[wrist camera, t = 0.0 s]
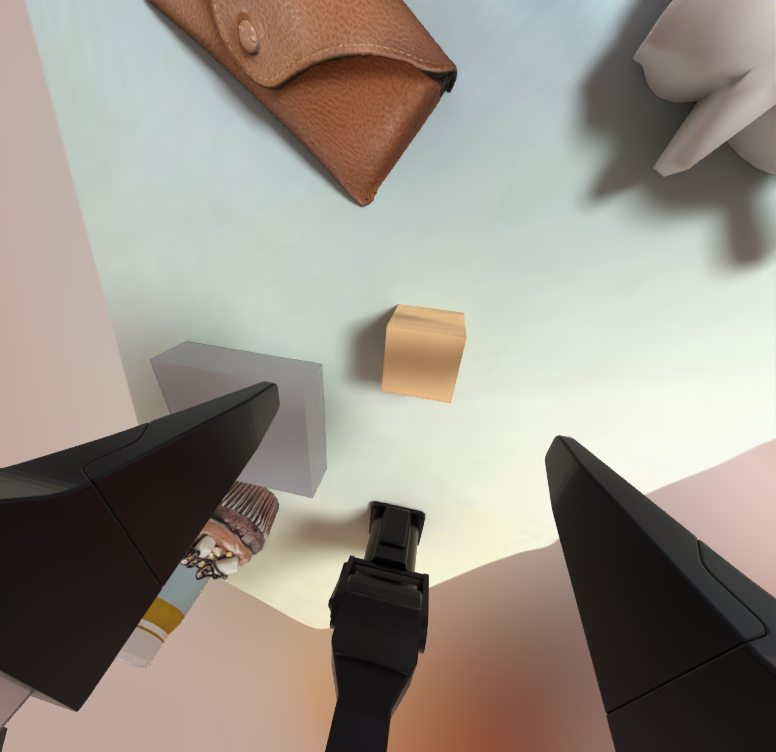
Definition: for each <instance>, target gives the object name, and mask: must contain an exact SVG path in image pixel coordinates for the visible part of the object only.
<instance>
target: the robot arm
mask: <svg viewBox="0 0 776 752" xmlns="http://www.w3.org/2000/svg"><path fill="white" fill-rule="evenodd" d="M279 407H280V399H279V391H278V386H277V384H276V383H273V382H268V381H263V382H260V383H257V384H254V385H252V386H249V387H246V388H243V389H240V390H238V391H235V392H232V393H229V394H226V395H224V396H221V397H218V398H215V399H212V400H210V401H207V402H204V403H201V404H198V405H196V406H193V407H190V408H187V409H184V410H182V411H179V412H176V413H173V414H170V415H167V416H165V417H162V418H159V419H156V420H153V421H151V422H150V423H145V424H142V425H139V426H136V427H134V428H131V429H128V430H125V431H122V432H119V433H116V434H114V435H111V436H107V437H104V438H101V439H98V440H95V441H92V442H88V443H85V444H82V445H79V446H75V447H72V448H69V449H65V450H62V451H59V452H56V453H52V454H49V455H46V456H43V457H39V458H36V459H33V460H30V461H26V462H23V463H20V464H16V465H12V466H9V467H5V468H0V752H1V751H2V747H3V743H4V740H5V735H6V731H7V728H5V727H4V726H5V724H6V723H7V722H8V721H9V720H10V719H11V718H12V716H13V715H14V714H15V713H16V711H18V709H19V708H20V707H21V706H22V705H23V704H24V702H25V701H26V700H27V699H28V698H29V697H30V696H32V697H35V698H38V699H41V700H44V701H46V702H49V703H52V704H55V705H58V706H61V707H63V708H66V709H69V710H72V711H75V712H77V711H79V709H80V708H81V707H82V705H83V704H84V703H85V701H86V700H87V699H88V697H89V696H90V694H91V693H92V692H93V690H94V689H95V687H96V685H97V684H98V683H99V681H100V680H101V678H102V677H103V675H104V674H105V672H106V671H107V670H108V668H109V667H110V665H111V664H112V662H113V661H114V659H115V658H116V656H117V655H118V653H119V652H120V650H121V649H122V647H123V646H124V645H125V643H126V642H127V640H128V639H129V637H130V636H131V634H132V633H133V631H134V630H135V628H136V627H137V625H138V624H139V623H140V621H141V620H142V618H143V617H144V615H145V614H146V612H147V611H148V609H149V608H150V606H151V605H152V603H153V602H154V600H155V599H156V598H157V596H158V595H159V593H160V592H161V590H162V587H163V586H164V585H165V584H166V582H167V581H168V580H169V578H170V577H171V575H172V574H173V572H174V571H175V569H176V568H177V566H178V565H179V563H180V562H181V560H182V559H183V558H184V556H185V555H186V553H187V552H188V550H189V549H190V547H191V546H192V544H193V543H194V541H195V540H196V538H197V537H198V535H199V534H200V533H201V531H202V530H203V528H204V527H205V525H206V524H207V522H208V521H209V519H210V518H211V516H212V515H213V513H214V512H215V510H216V509H217V508H218V506H219V505H220V503H221V502H222V500H223V499H224V497H225V496H226V494H227V493H228V491H229V490H230V488H231V487H232V486H233V484H234V483H235V481H236V480H237V478H238V477H239V475H240V474H241V472H242V471H243V469H244V468H245V466H246V465H247V463H248V462H249V461H250V459H251V458H252V456H253V455H254V453H255V452H256V450H257V449H258V447H259V445H260V444H261V442H262V440H263V438H264V436H265V434H266V433H267V431H268V429H269V427H270V425H271V423H272V421H273V419H274V418H275V416H276V414H277V412H278V410H279ZM545 465H546V472H547V479H548V486H549V493H550V500H551V506H552V511H553V515H554V519H555V523H556V526H557V530H558V534H559V538H560V542H561V545H562V549H563V553H564V556H565V561H566V564H567V568H568V572H569V576H570V579H571V583H572V587H573V591H574V595H575V598H576V602H577V606H578V610H579V613H580V617H581V621H582V625H583V629H584V633H585V636H586V640H587V644H588V647H589V651H590V655H591V659H592V663H593V666H594V670H595V674H596V678H597V682H598V686H599V689H600V693H601V696H602V700H603V704H604V708H605V712H606V713H607V715H606V717H607V720H608V724H609V728H610V732H611V736H612V739H613V743H614V747H615V751H616V752H776V598H775V597H773V596H772V595H771V594H769V593H768V592H766V591H765V590H764V589H762V588H761V587H760V586H758V585H757V584H756V583H754V582H753V581H752V580H750V579H749V578H748V577H746V576H745V575H744V574H743V573H741V572H740V571H739V570H738V569H736V568H735V567H734V566H732V565H731V564H730V563H729V562H727V561H726V560H725V559H723V558H722V557H721V556H720V555H718V554H717V553H716V552H715V551H713V550H712V549H711V548H710V547H708V546H707V545H706V544H704V543H703V542H702V541H701V540H697V537H696V536H695V535H693V534H692V533H691V532H690V531H688V530H687V529H686V528H685V527H683V526H682V525H681V524H680V523H678V522H677V521H676V520H675V519H673V518H672V517H671V516H669V515H668V514H667V513H666V512H665V511H663V510H662V509H661V508H660V507H658V506H657V505H656V504H654V503H653V502H652V501H651V500H650V499H648V498H647V497H646V496H645V495H643V494H642V493H641V492H640V491H638V490H637V489H636V488H635V487H633V486H632V485H631V484H630V483H628V482H627V481H626V480H625V479H623V478H622V477H621V476H620V475H618V474H617V473H616V472H615V471H613V470H612V469H611V468H610V467H608V466H607V465H606V464H605V463H603V462H602V461H601V460H600V459H598V458H597V457H596V456H595V455H593V454H592V453H591V452H590V451H588V450H587V449H586V448H585V447H583V446H582V445H581V444H580V443H578V442H577V441H576V440H575V439H573V438H571V437H566V436H561V435H558V436H556V437H555V438H554V440H553V442H552V444H551V446H550V448H549V450H548V452H547V454H546V457H545ZM424 521H425V513H423V512H419V511H415V510H410V509H406V508H401V507H397V506H392V505H388V504H383V503H379V502H373V503H372V506H371V518H370V530H369V534H370V537H369V541H368V545H367V549H366V553H365V557H364V560H363V559H359V558H355V556H351V555H350V557H349V560H348V562H345V563H344V565H343V568H342V571H341V574H340V577H339V580H338V582H337V584H336V587H335V589H334V591H333V593H332V595H331V597H330V600H329V604H328V606H329V609H330V611H331V615H330V618H331V620H330V628H332V629H334V631H333V635H332V670H333V677H334V684H335V690H336V698H337V703H336V707H335V712H334V716H333V720H332V725H331V729H330V733H329V738H328V742H327V746H326V750H325V752H387V743H388V735H389V727H390V719H391V718H392V716H393V714H394V712H395V711H396V709H397V707H398V706H399V704H400V702H401V700H402V699H403V697H404V695H405V693H406V692H407V690H408V688H409V686H410V683H411V680H412V677H413V674H414V671H415V668H416V665H417V661H418V653H421V654H423V653H424V649H425V644H426V637H427V627H428V600H429V575H428V574H420V573H416V572H415V562H416V552H417V546H418V545H419V542H420V537H421V533H422V529H423V525H424Z"/></svg>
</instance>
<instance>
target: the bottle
mask: <svg viewBox="0 0 776 752" xmlns="http://www.w3.org/2000/svg"><path fill="white" fill-rule="evenodd" d="M197 570H198V569H197V568H195V567H193V568H186V566H183V565H181V564H180V563H179V565H178V566H177V568H176V569H175V571H174V572H173V574H172V575H171V577H170V578H169V580H168V581H167V582H166V584H165V585H164V586H163V587H162V590H161V592H160V593H159V595H158V596H157V598H156V599H155V600H154V602H153V603H152V605H151V606H150V608H149V609H148V611H147V612H146V614H145V615H144V617H143V618H142V620H141V621H140V623H139V624H138V625H137V627H136V628H135V630H134V631H133V633H132V634H131V636H130V637H129V639H128V640H127V642H126V643H125V645H124V646H123V647H122V649H121V650H120V652H119V653H118V655H117V656H116V659H118V660H120V661H122V662H125V663H127V664H130V665H133V666H136V667H140V668H147V667H148V666H149V665H150V663H151V661H152V660H153V658H154V657H155V656H156V654H157V652H158V651H159V649H160V648H161V645H162V643H164V642H165V640H166V639H167V637H168V635H169V634H170V633H171V632H172V631H173V630H174V629H175V628H176V627H177V626H178V625H179V624H180V623H181V621H182V620H183V618H184V617H185V615H186V614H187V613H188V611H189V609H190V608H191V606H192V605H193V603H194V602H195V600H196V599H197V597H198V596H199V594H200V593H201V591H202V590H203V588H204V586H205V585H206V583H207V582H208V580H209V579H210V578H204V579H201V580H197V579H196V577H195V574H196V572H197Z"/></svg>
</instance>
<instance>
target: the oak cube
mask: <svg viewBox="0 0 776 752" xmlns="http://www.w3.org/2000/svg"><path fill="white" fill-rule="evenodd" d="M465 341H466V331H465V322H464V313H460V312H453V311H446V310H438V309H431V308H424V307H416V306H409V305H402V304H398V306H397V308H396V310H395V312H394V314H393V316H392V317H391V319H390V321H389V323H388V325H387V328H386V340H385V353H384V365H383V377H382V389H381V391H383V392H389V393H394V394H400V395H406V396H412V397H417V398H423V399H429V400H434V401H440V402H446V403H451V400H452V396H453V392H454V387H455V383H456V379H457V375H458V371H459V366H460V362H461V358H462V354H463V350H464V345H465Z"/></svg>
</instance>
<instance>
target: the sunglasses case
mask: <svg viewBox="0 0 776 752" xmlns="http://www.w3.org/2000/svg"><path fill="white" fill-rule="evenodd" d="M148 1H149V2H150V3H152V4H153V5H154V6H155V7H156V8H157V9H159V10H160V11H161V12H162V13H164V14H165V15H166V16H167V17H168V18H169V19H170V20H172V21H173V22H174V23H175V24H176V25H178V26H179V27H180V28H182V29H183V30H184V31H185V32H186V33H187V34H188V35H190V36H191V37H192V38H193V39H194V40H195V41H196V42H197V43H199V44H200V45H201V46H202V47H203V48H204V49H205V50H206V51H207V52H209V53H210V54H211V55H212V56H213V57H214V58H215V59H216V60H217V61H218V62H219V63H220V64H222V65H223V66H224V67H225V68H226V69H227V70H228V71H229V72H230V73H231V74H232V75H233V76H234V77H235V78H236V79H237V80H238V81H239V82H240V83H241V84H242V85H243V86H244V87H245V88H246V89H248V90H249V91H250V92H251V93H252V94H253V95H254V96H255V97H256V99H258V100H259V101H260V102H261V103H262V104H263V105H264V106H265V107H266V108H267V109H268V110H269V111H270V112H272V113H273V115H274V116H275V117H276V118H277V119H278V120H280V121H281V122H282V123H283V125H284V126H286V127H287V128H288V129H289V130H290V131H291V132H292V133H293V134H294V136H296V137H297V138H298V139H299V140H300V141H301V142H302V143H303V144H304V145H305V146H306V147H307V149H308V150H309V151H310V152H312V154H313V155H314V156H315V157H316V158H317V159H318V160H319V161H320V162H321V163H322V164H323V166H324V167H325V168H326V169H327V170H328V171H329V172H330V173H331V175H332V176H333V177H334V178H335V179H336V180H337V181H338V182H339V183H340V184H341V185H342V186H343V187H344V189H345V190H346V191H347V192H348V193H349V194H350V195H351V196H352V197H353V198H354V199H355V200H356V201H357V202H358V203H359V204H360V205H361V206H366V205H368V204H370V203H371V202H372V201H373V200H374V196H375V195H376V193H377V190H378V188H379V187H380V185H381V183H382V182H383V181H384V180H385V178H386V177H387V175H388V174H389V173H390V171H391V170H392V168H393V167H394V166H395V164H396V163H397V162H398V160H399V159H400V157H401V156H402V154H403V152H404V151H405V150H406V149H407V147H408V145H409V144H410V143H411V141H412V140H413V138H414V137H415V136H416V134H417V133H418V132H419V130H420V129H421V127H422V126H423V124H424V123H425V122H426V120H427V118H428V116H429V115H430V114H431V113H432V112H433V110H434V109H435V107H436V105H437V104H438V102H439V101H440V99H441V97H442V94H443V93H444V91H445V90H447V92H448V93H450V92H451V90H452V88H453V86H454V83H455V81H456V76H457V68H456V66H455V64H454V63H453V62H452V61H451V60H450V59H449V58H448V56H447V55H446V54H445V53H444V52H443V50H442V49H441V48H440V46H439V45H438V44H437V43H436V42H435V40H434V39H433V38H432V37H431V35H430V34H429V32H428V31H427V30H426V29H425V28H424V26H423V25H422V24H421V23H420V21H419V20H418V19H417V18H416V16H415V15H414V14H413V13H412V11H411V10H410V9H409V8H408V6H407V5H406V4H405V3H404V1H403V0H148Z"/></svg>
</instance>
